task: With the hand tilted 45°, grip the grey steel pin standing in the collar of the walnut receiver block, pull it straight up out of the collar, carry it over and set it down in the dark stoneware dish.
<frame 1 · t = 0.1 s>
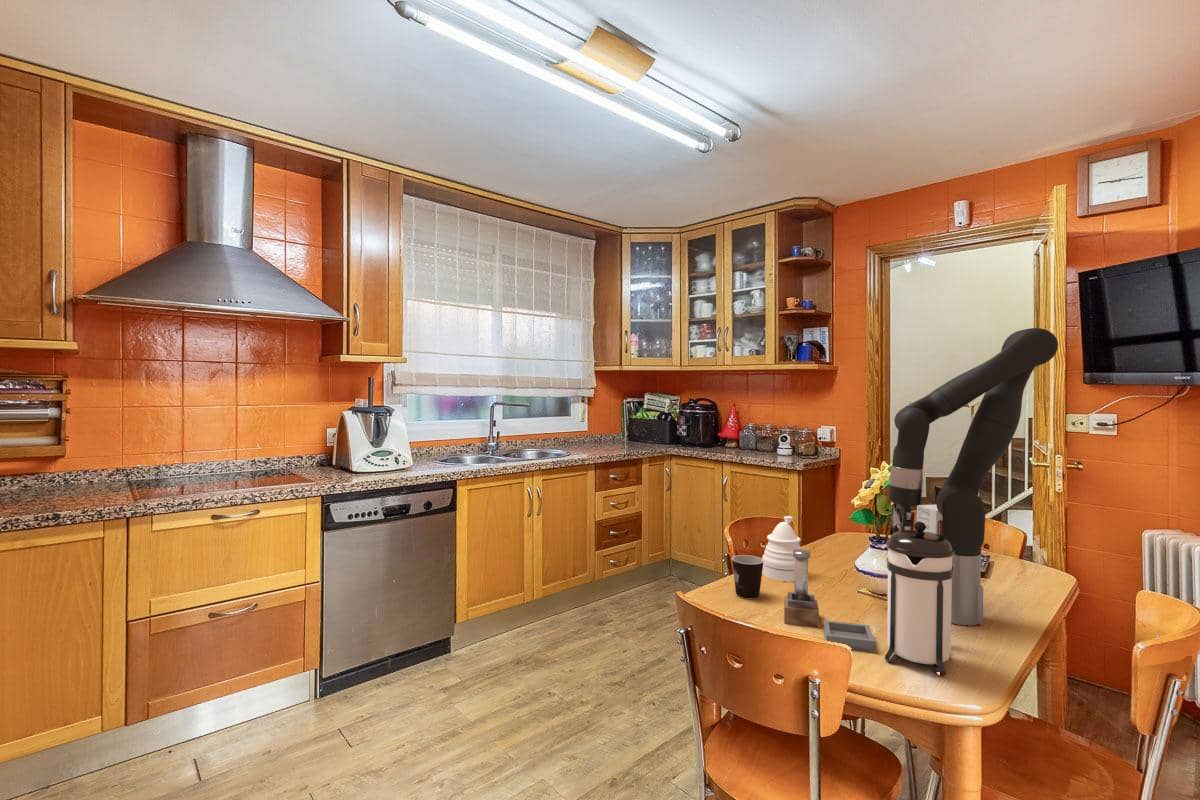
hand: (900, 546, 150), 17 cm above the table, tool pointing down, fingers open, 8 cm apart
coffee mug: (747, 593, 165), on the table
honey pot: (783, 575, 181), on the table
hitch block: (800, 619, 147), on the table
supplement box: (936, 555, 202), on the table
coffee press: (916, 657, 126), on the table
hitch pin: (801, 603, 147), point 4 cm above the table, touching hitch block
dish: (848, 640, 134), on the table
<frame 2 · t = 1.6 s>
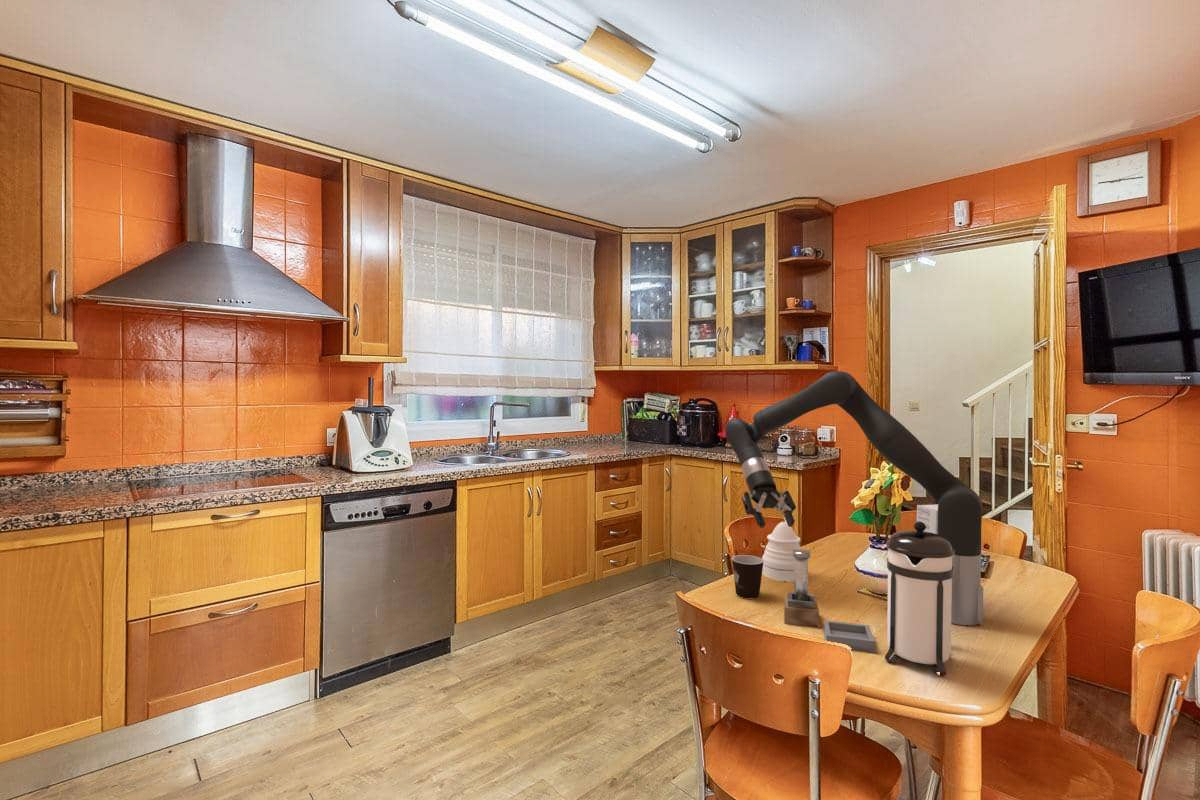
hand: (777, 525, 157), 21 cm above the table, tool tilted 45°, fingers open, 8 cm apart
nothing on the table moved.
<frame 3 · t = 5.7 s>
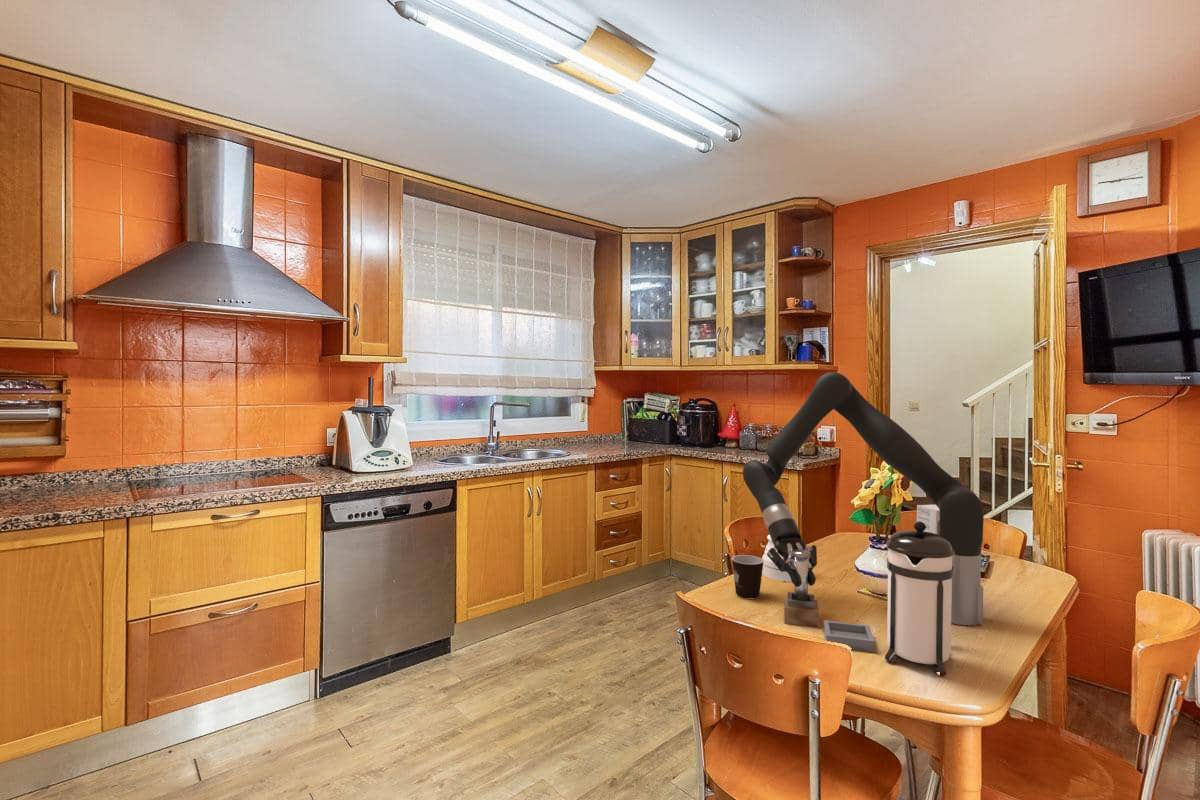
hand: (805, 584, 144), 9 cm above the table, tool tilted 45°, fingers closed on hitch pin, 3 cm apart
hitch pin: (801, 603, 147), point 4 cm above the table, touching gripper, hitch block
everything else where it was.
when the fingers open (8 cm above the table, at t = 12.1 s): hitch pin drops 2 cm, resting on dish.
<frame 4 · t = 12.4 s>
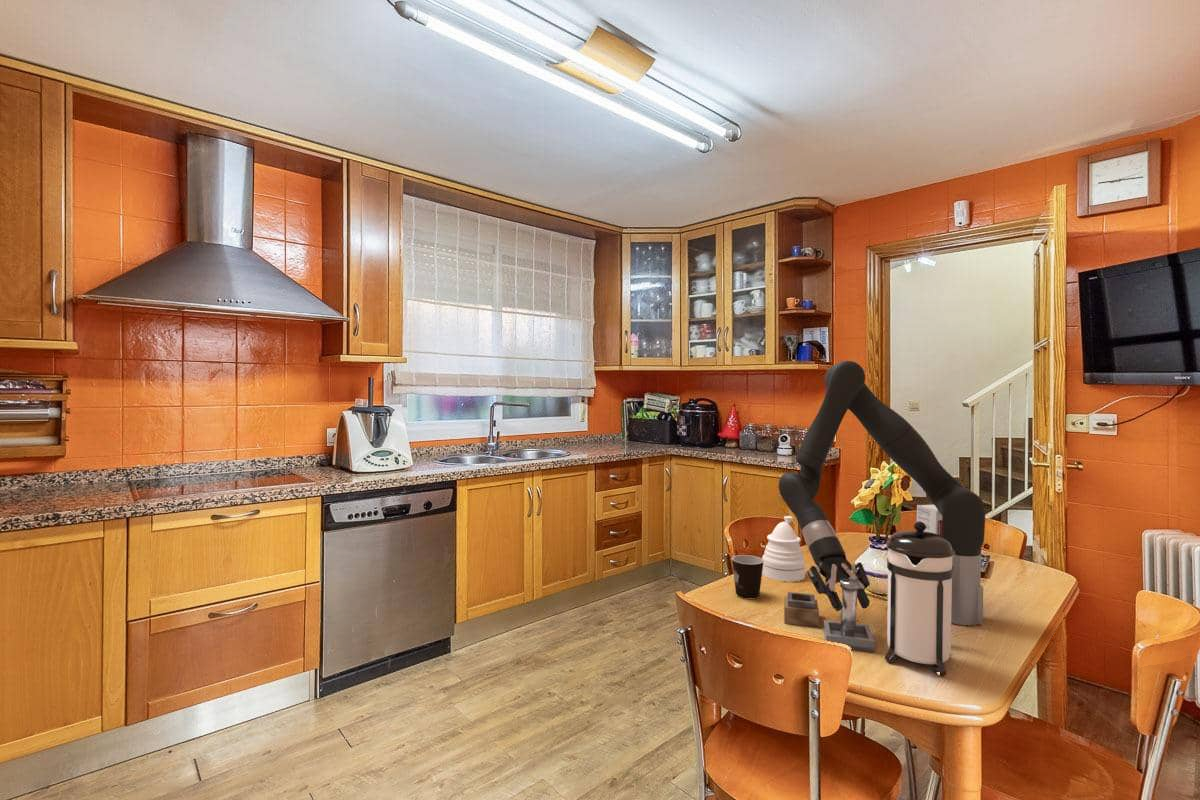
hand: (853, 608, 132), 8 cm above the table, tool tilted 45°, fingers open, 6 cm apart
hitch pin: (847, 637, 134), point 1 cm above the table, touching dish
everything else where it was.
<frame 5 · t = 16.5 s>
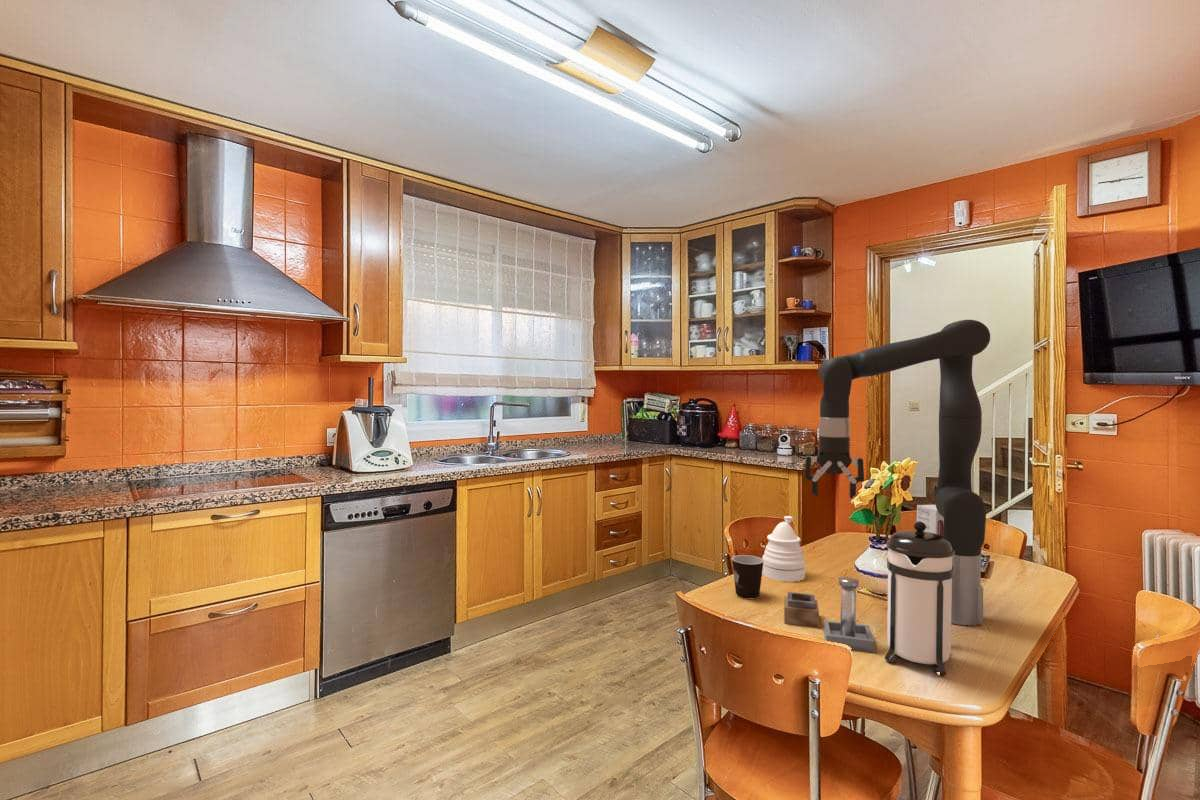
hand: (833, 496, 151), 30 cm above the table, tool pointing down, fingers open, 8 cm apart
at the end: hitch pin inside the target area on the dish (0.1 cm from its centre), point 0.9 cm above the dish's base; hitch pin touching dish; the gripper is holding nothing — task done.
